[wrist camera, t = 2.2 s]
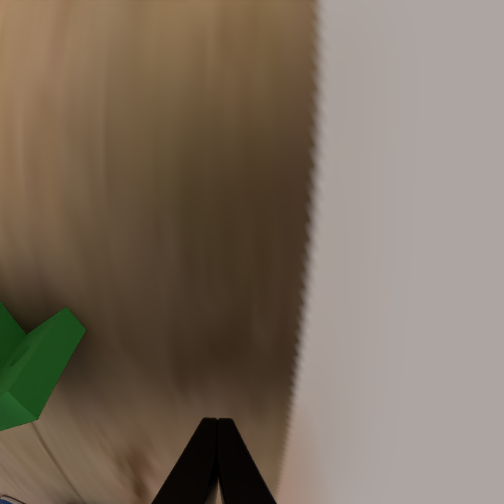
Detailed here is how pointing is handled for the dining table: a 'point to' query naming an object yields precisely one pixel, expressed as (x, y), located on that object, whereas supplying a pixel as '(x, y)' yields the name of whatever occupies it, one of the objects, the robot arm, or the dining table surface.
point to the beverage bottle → (8, 501)
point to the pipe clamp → (33, 364)
